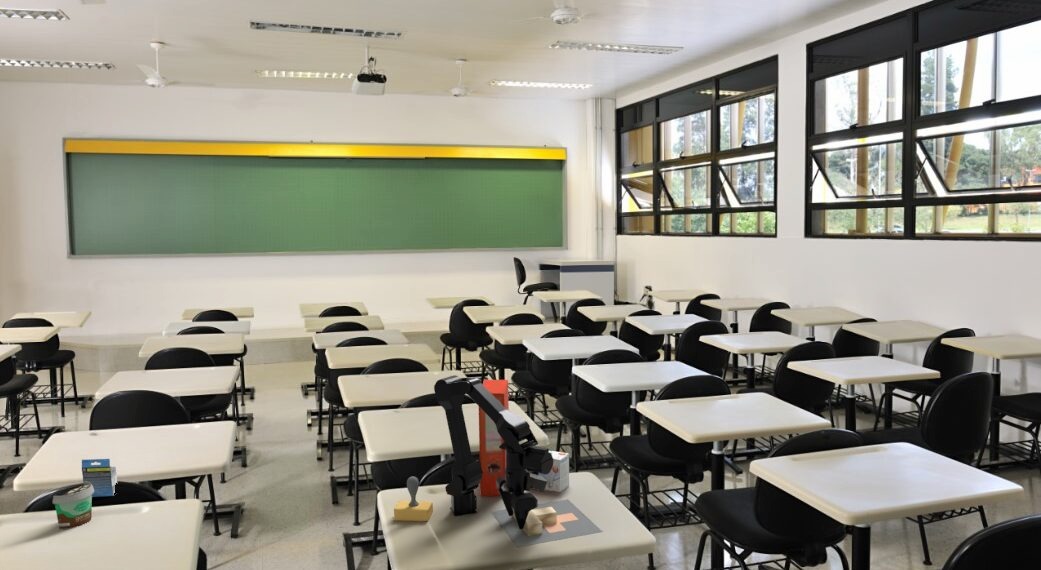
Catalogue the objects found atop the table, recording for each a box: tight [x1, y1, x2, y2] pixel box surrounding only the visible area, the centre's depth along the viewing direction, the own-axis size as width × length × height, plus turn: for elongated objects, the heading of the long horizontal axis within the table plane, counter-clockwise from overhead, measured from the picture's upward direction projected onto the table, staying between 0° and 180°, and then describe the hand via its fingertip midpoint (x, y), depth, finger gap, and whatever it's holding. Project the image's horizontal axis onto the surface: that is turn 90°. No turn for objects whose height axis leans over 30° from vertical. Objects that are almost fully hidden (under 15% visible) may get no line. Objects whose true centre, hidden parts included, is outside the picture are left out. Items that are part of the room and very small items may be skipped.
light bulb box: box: [539, 450, 570, 493], centre depth 235 cm, size 11×7×11 cm, turn 62°
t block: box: [513, 507, 557, 536], centre depth 208 cm, size 10×14×3 cm
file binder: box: [478, 379, 510, 498], centre depth 236 cm, size 8×17×32 cm, turn 177°
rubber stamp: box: [393, 476, 434, 522], centre depth 215 cm, size 10×6×12 cm, turn 83°
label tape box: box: [81, 458, 118, 498], centre depth 237 cm, size 9×4×12 cm, turn 94°
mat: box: [490, 498, 603, 548], centre depth 209 cm, size 24×24×1 cm
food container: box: [52, 481, 94, 530], centre depth 217 cm, size 12×6×10 cm, turn 168°
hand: (516, 522), depth 206 cm, fingers open, 9 cm apart
